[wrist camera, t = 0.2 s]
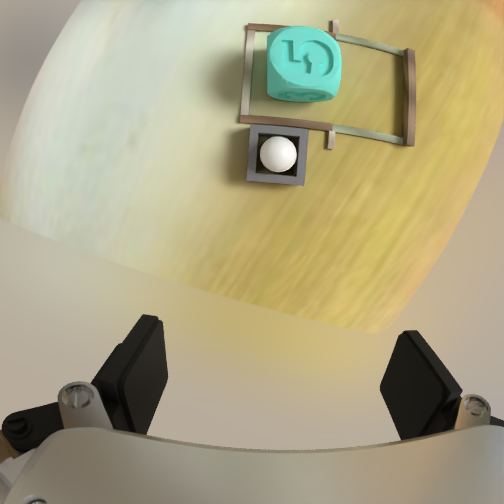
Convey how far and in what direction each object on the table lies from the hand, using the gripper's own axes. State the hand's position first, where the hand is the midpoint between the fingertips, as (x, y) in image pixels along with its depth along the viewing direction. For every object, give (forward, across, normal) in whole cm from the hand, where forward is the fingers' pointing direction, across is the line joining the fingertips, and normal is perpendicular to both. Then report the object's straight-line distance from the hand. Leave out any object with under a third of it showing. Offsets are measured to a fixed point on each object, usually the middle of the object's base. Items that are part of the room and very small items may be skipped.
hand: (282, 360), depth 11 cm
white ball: (+28, 0, -8) cm, 29 cm away
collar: (+30, 0, -8) cm, 31 cm away
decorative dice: (+30, -2, -20) cm, 36 cm away
